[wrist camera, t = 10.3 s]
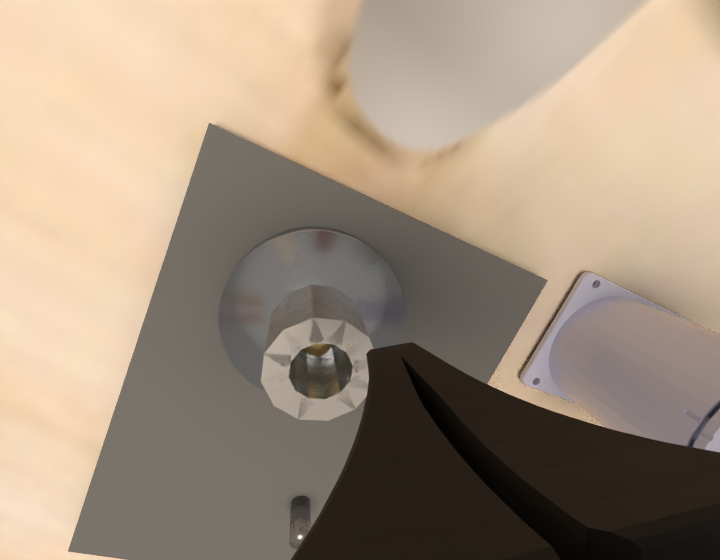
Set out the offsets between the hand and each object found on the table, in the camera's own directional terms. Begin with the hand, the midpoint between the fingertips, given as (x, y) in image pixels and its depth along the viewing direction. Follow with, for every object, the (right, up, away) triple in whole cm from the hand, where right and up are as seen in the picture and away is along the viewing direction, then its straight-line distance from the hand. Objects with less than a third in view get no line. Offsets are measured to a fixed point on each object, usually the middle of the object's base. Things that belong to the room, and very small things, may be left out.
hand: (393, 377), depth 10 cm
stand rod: (-5, -11, +13) cm, 18 cm away
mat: (-4, -5, +11) cm, 13 cm away
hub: (-3, +1, +8) cm, 9 cm away
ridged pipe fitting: (-3, 0, +7) cm, 8 cm away
